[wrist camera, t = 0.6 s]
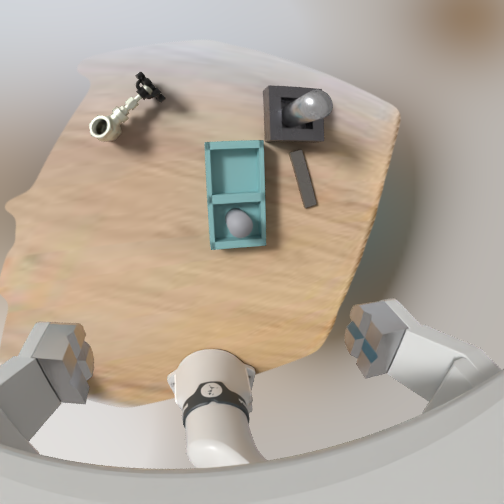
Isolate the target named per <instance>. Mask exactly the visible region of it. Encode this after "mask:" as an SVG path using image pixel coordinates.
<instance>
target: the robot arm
mask: <svg viewBox="0 0 504 504" xmlns="http://www.w3.org/2000/svg"><path fill="white" fill-rule="evenodd" d="M350 318H351V319H352V322H351V323H350V324H349V325H348V326H347V328H346V332H345V344H346V347H347V350H348V351H349V353H350V355H352V356H354V357H356V358H357V363H356V364H357V366H358V368H359V369H360V371H361V372H362V374H363V376H364V377H365V378H370V377H373V376H378V375H382V374H385V373H387V374H388V375H389V376H391V377H392V378H394V379H395V380H397V381H398V382H400V383H402V384H403V385H404V386H406V387H407V388H409V389H411V390H412V391H413V392H415V393H417V394H418V395H420V396H421V397H423V398H424V399H426V400H427V401H429V403H428V405H427V406H426V408H425V409H424V411H423V414H421V415H419V416H417V417H415V418H412V419H410V420H407V421H405V422H403V423H400V424H398V425H395V426H393V427H390V428H388V429H385V430H382V431H379V432H377V433H374V434H371V435H368V436H365V437H362V438H359V439H356V440H353V441H349V442H346V443H343V444H339V445H336V446H332V447H328V448H325V449H321V450H317V451H313V452H308V453H304V454H300V455H295V456H291V457H285V458H280V459H274V460H269V461H267V460H266V459H265V458H264V457H263V456H262V455H261V453H260V452H259V451H258V449H257V447H256V445H255V443H254V440H253V437H252V434H251V432H250V428H249V412H252V392H251V390H252V386H253V382H254V377H255V369H254V368H253V367H252V366H249V365H247V364H244V363H242V362H241V361H240V360H239V359H238V358H237V357H236V356H234V355H233V354H231V353H229V352H226V351H223V350H218V349H205V350H200V351H197V352H194V353H192V354H190V355H188V356H187V357H186V358H185V359H184V360H183V361H182V362H181V363H180V365H179V366H178V368H177V369H176V370H175V371H173V372H172V373H170V374H169V375H168V376H167V381H168V383H169V385H170V387H171V389H172V390H173V392H174V394H175V402H176V403H177V404H178V406H179V407H180V409H181V410H182V420H183V425H184V427H185V431H186V454H187V457H188V459H189V460H190V462H191V463H192V464H193V465H194V466H195V467H196V468H192V469H191V468H190V469H142V468H125V467H112V466H103V465H95V464H87V463H81V462H74V461H68V460H63V459H58V458H53V457H48V456H43V455H40V454H39V452H38V451H37V450H36V449H35V448H34V447H33V446H32V445H31V444H30V443H29V441H30V439H31V438H32V437H33V436H34V435H35V433H36V432H37V431H38V430H39V429H40V428H41V426H42V425H43V424H44V423H45V422H46V421H47V419H48V418H49V417H50V416H51V415H52V414H53V413H54V411H55V410H56V409H57V408H58V407H59V406H60V404H61V402H64V403H76V404H86V399H87V395H88V391H89V385H88V383H87V380H88V379H89V378H90V377H92V375H93V370H94V357H93V352H92V349H91V347H90V345H89V344H87V343H86V342H85V341H84V339H85V336H86V333H85V331H84V328H83V326H82V325H81V324H79V323H59V322H37V323H36V324H35V325H34V327H33V329H32V331H31V332H30V334H29V336H28V338H27V340H26V342H25V343H24V345H23V347H22V349H21V351H20V353H19V355H18V357H17V356H13V357H12V358H11V359H9V360H8V361H6V362H5V363H4V364H2V365H1V366H0V504H504V369H503V370H501V369H500V368H499V367H498V366H497V365H496V364H495V363H494V362H493V360H491V358H490V357H489V356H488V355H487V354H486V353H485V352H484V351H483V350H482V349H481V348H479V347H477V346H474V345H472V344H470V343H467V342H465V341H462V340H460V339H458V338H455V337H453V336H451V335H448V334H446V333H444V332H441V331H439V330H436V329H434V328H432V327H429V326H427V325H421V324H420V323H419V322H418V321H417V320H416V319H415V318H414V317H413V316H412V315H411V314H410V313H409V312H408V311H407V310H406V309H405V307H403V305H402V304H401V303H400V302H399V301H398V300H396V299H393V298H391V299H386V300H381V301H378V302H372V303H365V304H359V305H354V306H353V308H352V309H351V313H350Z"/></svg>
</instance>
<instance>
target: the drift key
mask: <svg viewBox="0 0 504 504" xmlns="http://www.w3.org/2000/svg"><path fill="white" fill-rule="evenodd" d="M289 156H290V159H291V162H292V166H293V169H294V173H295V176H296V180H297V183H298V187H299V191H300V194H301V198H302V202H303V205H304V208H307V207H310V206H313V205H316V200H315V196H314V192H313V188H312V184H311V181H310V177H309V173H308V170H307V166H306V163H305V159H304V156H303V152H302V150H298V151H294V152H290V153H289Z"/></svg>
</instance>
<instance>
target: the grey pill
mask: <svg viewBox="0 0 504 504" xmlns="http://www.w3.org/2000/svg"><path fill="white" fill-rule="evenodd" d="M332 108H333V104H332V100H331V98H330V96H329V95H328V94H327V93H326V92H324V91H322V90H312V91H310V92H308V93H307V94H305V95H303V96H301V97H300V98H298V99H296V100H294V101H293V102H291V103H289V104H288V105H286V106H284V107H283V108H282V110H281V114H282V122H283V123H284V124H285V125H287V126H289V127H296V126H299V125H302V124H305V123H308V122H311V121H315V120H318V119H321V118H324V117H327V116H328V115H329V114H330V113H331V111H332Z"/></svg>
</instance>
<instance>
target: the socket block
mask: <svg viewBox="0 0 504 504" xmlns="http://www.w3.org/2000/svg"><path fill="white" fill-rule="evenodd" d="M312 90H322V89H314V88H302V87H288V86H268V87H267V88H266V89H265V90H264V91H263V101H264V129H265V142H322V141H324V120H323V118H321V119H318V120H315V121H311V122H308V123H305V124H302V125H299V126H296V127H289V126H287V125H285V124H284V123H283V122H282V114H281V110H282V108H283V107H284V106H286V105H288V104H289V103H291V102H293V101H294V100H296V99H298V98H300V97H301V96H303V95H305V94H307V93H308V92H310V91H312Z"/></svg>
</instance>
